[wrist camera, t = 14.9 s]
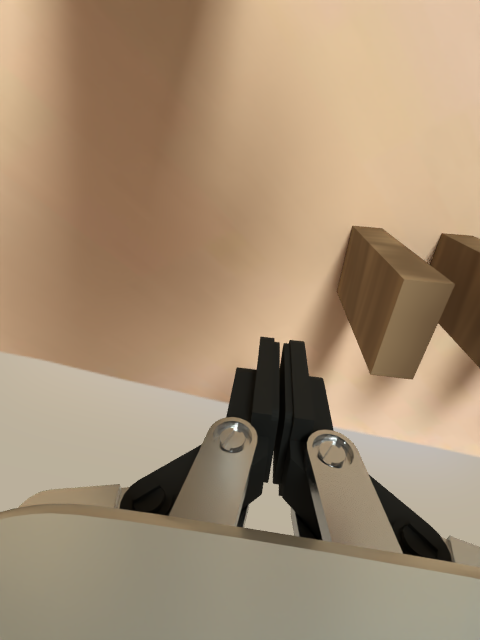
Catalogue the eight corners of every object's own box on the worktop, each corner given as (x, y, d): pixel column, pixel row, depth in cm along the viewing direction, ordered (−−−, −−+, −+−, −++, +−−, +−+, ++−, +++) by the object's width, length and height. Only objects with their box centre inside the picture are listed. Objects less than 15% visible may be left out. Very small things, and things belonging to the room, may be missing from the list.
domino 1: (336, 291, 23) (370, 374, 15) (352, 225, 21) (404, 279, 12) (363, 294, 23) (412, 379, 15) (381, 228, 21) (455, 284, 12)
